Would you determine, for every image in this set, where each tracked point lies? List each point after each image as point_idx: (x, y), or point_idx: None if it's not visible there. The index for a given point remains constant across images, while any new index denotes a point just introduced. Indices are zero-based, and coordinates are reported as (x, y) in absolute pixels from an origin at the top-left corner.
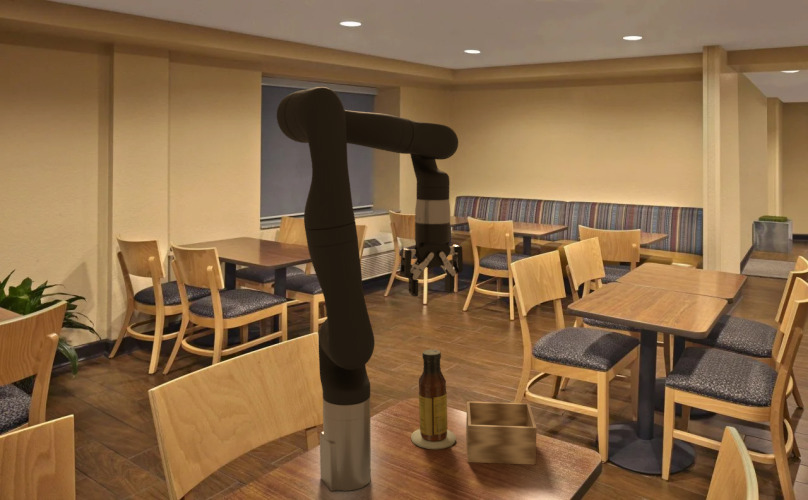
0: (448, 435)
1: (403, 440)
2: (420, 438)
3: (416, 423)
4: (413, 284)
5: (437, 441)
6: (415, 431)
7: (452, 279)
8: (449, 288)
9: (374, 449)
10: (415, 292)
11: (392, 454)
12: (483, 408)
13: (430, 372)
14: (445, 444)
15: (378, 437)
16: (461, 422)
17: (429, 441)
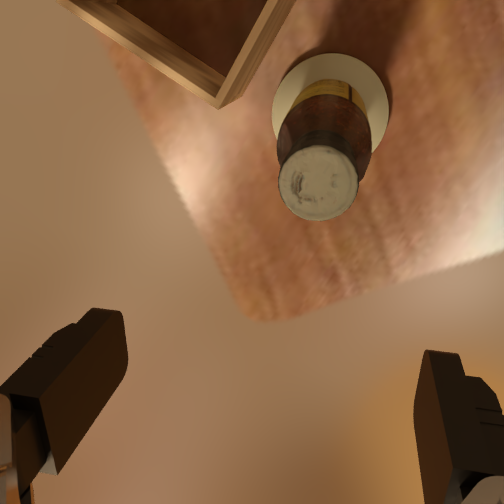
0: (290, 102)
1: (399, 146)
2: None
3: None
4: (490, 448)
5: None
6: None
7: (30, 372)
8: (102, 330)
9: (495, 137)
10: (463, 371)
11: (473, 88)
12: (184, 72)
13: (344, 138)
14: (327, 59)
15: (444, 191)
16: (215, 162)
17: None
